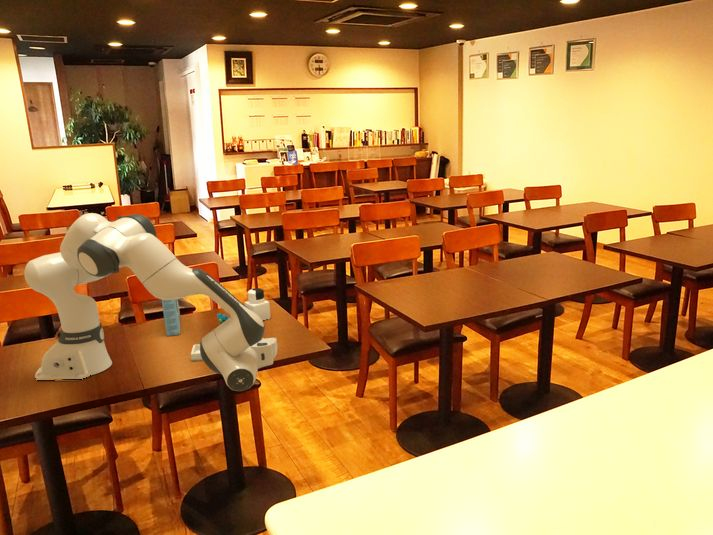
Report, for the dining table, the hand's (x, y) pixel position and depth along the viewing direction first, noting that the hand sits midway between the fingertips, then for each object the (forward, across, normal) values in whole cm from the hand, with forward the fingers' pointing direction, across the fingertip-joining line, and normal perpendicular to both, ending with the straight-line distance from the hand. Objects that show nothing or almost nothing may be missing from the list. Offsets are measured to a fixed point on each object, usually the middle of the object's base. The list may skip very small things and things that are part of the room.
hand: (244, 339), depth 184 cm
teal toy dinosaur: (+34, -8, -9) cm, 36 cm away
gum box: (+44, -29, -9) cm, 53 cm away
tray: (+12, -13, -9) cm, 20 cm away
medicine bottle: (+43, +3, -9) cm, 44 cm away
